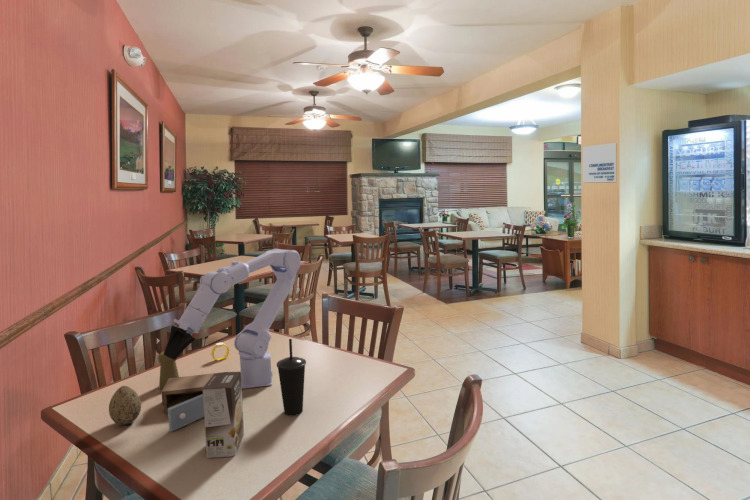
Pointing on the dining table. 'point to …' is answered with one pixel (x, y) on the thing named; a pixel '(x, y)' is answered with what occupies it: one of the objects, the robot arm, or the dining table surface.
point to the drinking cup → (292, 382)
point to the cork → (166, 369)
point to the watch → (220, 346)
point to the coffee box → (223, 414)
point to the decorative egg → (124, 406)
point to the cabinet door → (185, 412)
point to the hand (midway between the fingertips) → (169, 357)
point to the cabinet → (183, 389)
